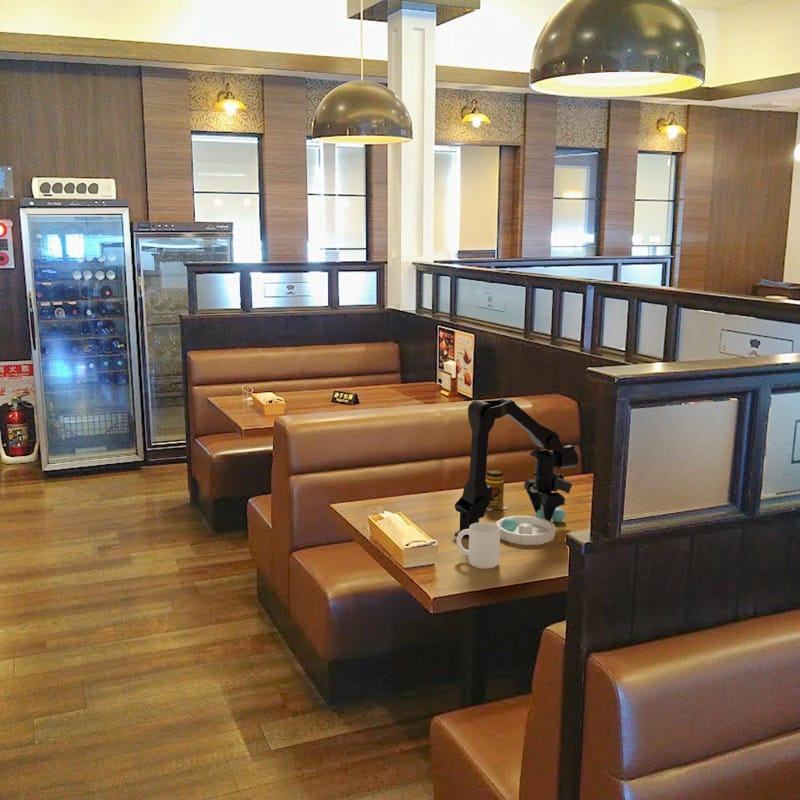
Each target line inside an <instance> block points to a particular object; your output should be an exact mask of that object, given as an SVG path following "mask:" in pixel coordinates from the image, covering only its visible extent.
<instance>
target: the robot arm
mask: <svg viewBox="0 0 800 800" xmlns="http://www.w3.org/2000/svg"><path fill="white" fill-rule="evenodd" d="M506 416H508V417H509V418H510V419H511V420H512V421H513V422H514V423H516V424H517V425H518V426H520V427H521V429H523V430H524V431H525V432H526V433H527V434H528V436H529V438H530V439H531V440H532V442H533V443H534V445H536V446H538V447H540V448H542V450H541V449H539V448H537V447H536V448H535V449H533V451H531V452H530V454H529V456H531V457H533V458H535V470H534V471H532V472H533V473H532V475H533V476H534V477H535V478H532V479H531V478H529V479H526V480H525V481H524V484H523V485H524V486H523V487H524V489H525V490H526V493H527V496H528V498H529V500H530V502H531V505H532V507H533V510H534V512H535V514H536V513H537V511H538V510H540V509H542V511H543V514H544V518H545V519H546V520H548V521H550V522H552V516H553V513H554V511H555V509H556V508H559V507H560V506H565V505H566V498H565V496H563V494H561V493H560V492H558V490H559V491H561V492H565V493H566V494H570V491H571V489H572V487H573V483H572V482H570V481H569V480H568V479H565V478H564V475H563V474H561V473H559V472H557V473H555V471H556V470H555V468H557V469H566V468H574V467H577V465H578V464H579V457H578V452H577V451H576V450H575V448H576V447H575V445H572V444H568V445H563V444H562V442H561V440H560V438H561V437H560V435H559V434H558V433H557V432H555V431H554V430H552V429H550V428H548V427H547V426H544V425H541V424H540V423H538V422H537V420H535V419H534V418H533V417H532V416H530V414H528V413H527V412H526V411H524V410H523V408H522V407H520V406H519V405H518V404H516V402H515V401H514V400H512V399H510V398H505V397H504V398H499V399H491V400H480V399H479V400H478V399H477V400H473V401H472V402H471V403H469V404H468V407H467V418H468V423H469V426H470V428H471V447H470V461H469V462H470V464H469V476H468V477H469V478H468V480H467V481H466V483H465V484H464V487H463V492H462V495H461V497H459V499H458V500H457V501H456V503H454V509H455V511H456V512H458V513H459V530H457V531H456V532H454V535H455V536H458V534H459V533H460V532H461V531H462V530H465V529H469V526H470V525H471V524H473V523H478V522H480V519H482V518H484V517H485V514H486V512H487V510H486V509H487V507H489V504H490V500H491V501H492V498H491V494H492V487H491V486H489V485H487V483H486V479H487V477H486V476H487V465H488V463H487V462H488V450H489V439H490V438H489V435H490V432H491V430H492V428H493V427H494V424H495V422H496V420H497V419H501V418H503V417H506ZM463 537H464V538H467V539H469V535H464V536H463ZM463 537H462V538H463Z"/></svg>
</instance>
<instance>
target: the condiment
mask: <svg viewBox="0 0 800 800" xmlns="http://www.w3.org/2000/svg"><path fill="white" fill-rule="evenodd" d="M503 478H504V473H503V471H502V470H499V469H490V470H486V483H487V485H489V486H491V487H492V494H491V498H492V501H491V500H490V504H489V507H487V508H488V509H501V508H503V509H501V510H507V509H509V507H507V506H506V505H504V492H505V491H504V489H505V488H504V487H505V484H504V483H505V480H504V479H503ZM503 506H504V507H503ZM487 511H489V512H490V510H487Z"/></svg>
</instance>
